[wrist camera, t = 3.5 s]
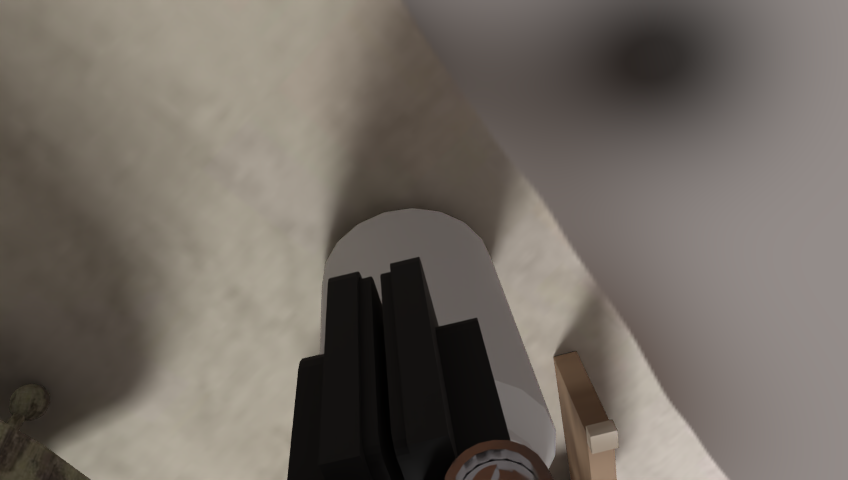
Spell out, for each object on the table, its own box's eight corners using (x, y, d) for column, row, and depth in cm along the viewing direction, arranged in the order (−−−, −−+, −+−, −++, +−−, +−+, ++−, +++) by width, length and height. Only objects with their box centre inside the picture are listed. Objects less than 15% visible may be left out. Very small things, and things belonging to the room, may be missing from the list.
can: (353, 351, 30) (362, 607, 20) (296, 227, 26) (272, 469, 16) (502, 309, 30) (588, 547, 20) (468, 175, 26) (555, 390, 16)
